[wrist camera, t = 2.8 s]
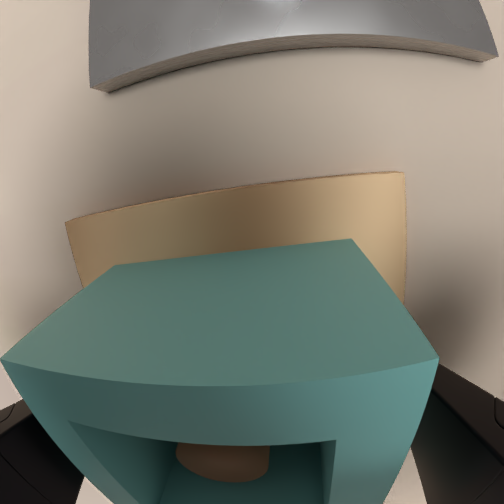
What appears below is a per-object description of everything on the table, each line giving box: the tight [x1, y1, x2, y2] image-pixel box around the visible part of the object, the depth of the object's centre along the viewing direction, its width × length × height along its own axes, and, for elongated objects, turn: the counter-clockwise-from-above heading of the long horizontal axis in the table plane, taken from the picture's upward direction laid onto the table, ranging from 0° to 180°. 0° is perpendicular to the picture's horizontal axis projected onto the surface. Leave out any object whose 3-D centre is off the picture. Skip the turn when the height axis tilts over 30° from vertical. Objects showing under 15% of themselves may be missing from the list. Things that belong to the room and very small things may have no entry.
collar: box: [0, 238, 439, 504], centre depth 7 cm, size 7×7×5 cm
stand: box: [65, 171, 407, 483], centre depth 7 cm, size 10×10×5 cm
